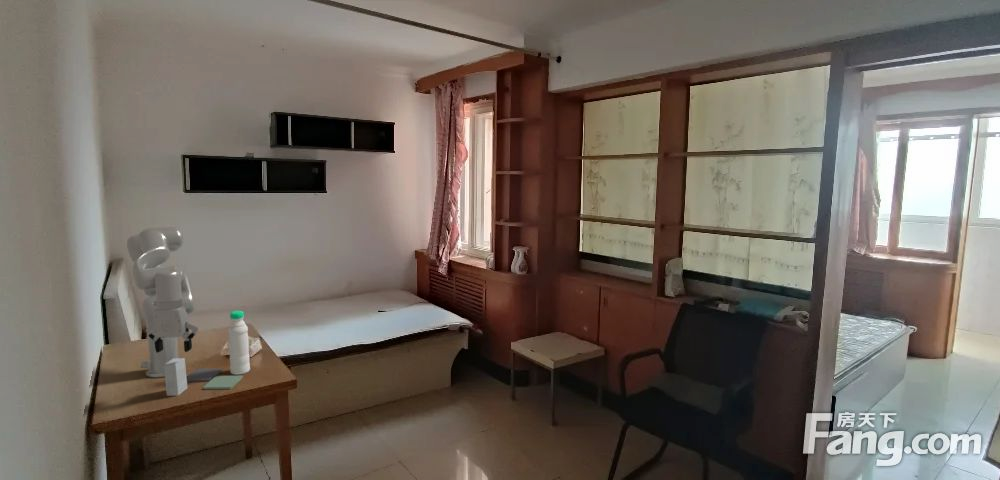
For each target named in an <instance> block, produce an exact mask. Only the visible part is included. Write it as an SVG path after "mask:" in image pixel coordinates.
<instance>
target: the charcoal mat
mask: <svg viewBox="0 0 1000 480" xmlns="http://www.w3.org/2000/svg"><path fill="white" fill-rule="evenodd" d="M222 371H223V368H195V370H193V371H192V372H190V373H189V374H188V375H186V377H187V383H188V382H210V381H211V380H212V379H213V378H214V377H216V376H219V374H220V373H221V372H222Z"/></svg>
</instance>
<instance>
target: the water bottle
mask: <svg viewBox="0 0 1000 480" xmlns="http://www.w3.org/2000/svg"><path fill="white" fill-rule="evenodd" d="M229 316H230V320H231V322H230V324H229V326H228V329H227V333H228V352H229V364H230V366H229V367H230V368H229V369H230V370H229V371H230V373H231V375H233V376H241V375H244V374H247V373H248V372H249V371H250V370H251V364H250V353H249V351H250V343H249V342H250V341H249V340H250V339H249V334H248V331H249V327H248V325H247V324H246V322H245V321H244V317H245V314H244V311H242V310H235V311H231V312H230V314H229Z"/></svg>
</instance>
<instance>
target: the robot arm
mask: <svg viewBox="0 0 1000 480" xmlns="http://www.w3.org/2000/svg"><path fill="white" fill-rule="evenodd" d="M183 244H184V235H183V233H182V231H181V229H180V228H178V227H177V226H176V227H175V226H165V227H164V226H163V227H150V228H146V229H143V230H141V231H140V232H139V233H138V234H134V235H131V236H130V237H128V239H127V241H126V247H127V252H128V255H129V257H130V259H131V261H132V262H133V264H132V275H133V280H134V284H135V285H136V286H135V287H137V288H138V290H139V289H140V290H142V291H143V293H144V294H145V296H147V297H145V298H144V299H143V301H142V303H141V310H142V312H143V316H144V320H145V326H146V329H145V332H146V335H147V343H148V344H147V345H148V354H149V356H148V357H149V360H142V361H141V362H140V368H142V369H143V368H145V369H146V368H147V369H146V370H145V375H146V376H147V377H150V378H163V377H164V378H165V372H164V364H166V363H167V362H169V361H170V360H172V359H173V358H180V356H179V346H178V345H179V344H178V338H180V337H181V338H182V339H184V341H183V348H184V352H185V353H187V352H189V351H190V350H192V348H193V345H192V344H193V343H192V340H193V338H194V337H195V336H196V335H197V333H198V330H199V327H197V326H195V325H193V324H191V323H190V322H189V317H188V315H189V314H192V313H194V312H195V311H196V306H197V303H196V298H195V294H194V290H193V285H192V283H191V280H190V277H189V275H188V273H187V272H186V271H184V270H182V269H180V268H179V266H176V265H175V266H174V265H171V266H164V263H165V262H167V261H169V259H170V257H171V253H172V252H173V253H174V252H176V251H178V250H179V249H180V248H181V247H182V245H183ZM190 331H191V333H190Z"/></svg>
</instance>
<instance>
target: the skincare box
mask: <svg viewBox="0 0 1000 480" xmlns="http://www.w3.org/2000/svg"><path fill="white" fill-rule="evenodd" d="M186 368H187V367H186V358H185V357H182V358H181V357H179V358H173V359H172V360H170V361H169V362H167V363H166V364H164V372H165V377H164V380H165V391H166V392H165V393H166V397H167V396H168V397H169V396H171V397H173V396H176V397H178V396H180V395H181V394H182V393H183V392H185V391H186V390H187V389H188V382H187V369H186Z"/></svg>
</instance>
